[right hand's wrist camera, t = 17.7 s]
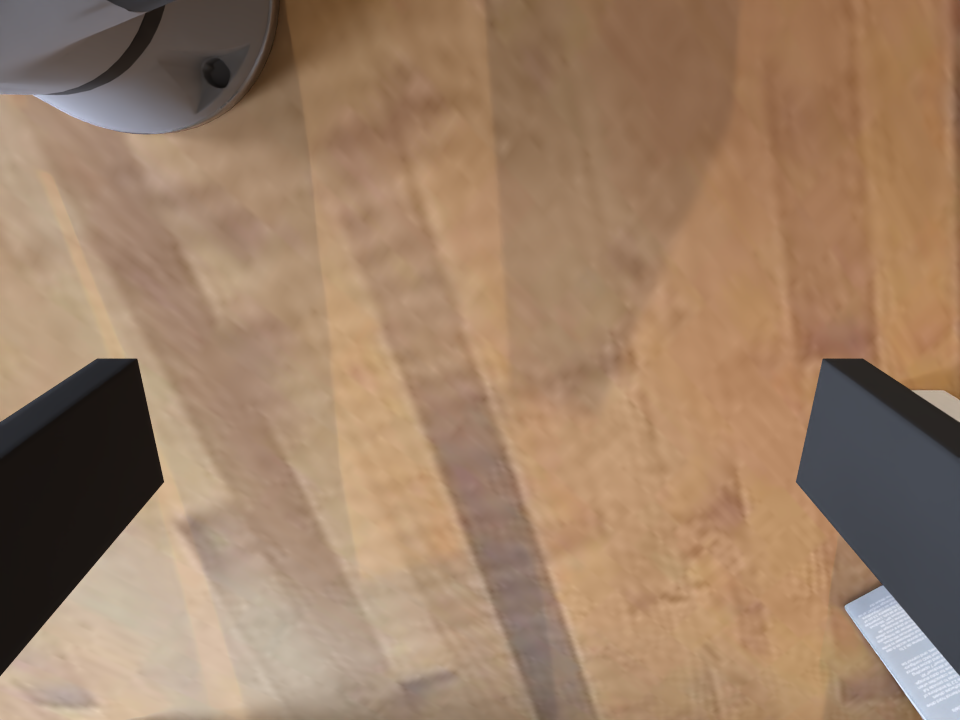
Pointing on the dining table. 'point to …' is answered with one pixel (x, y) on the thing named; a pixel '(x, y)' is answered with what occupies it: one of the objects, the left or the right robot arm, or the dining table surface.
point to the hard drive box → (908, 655)
